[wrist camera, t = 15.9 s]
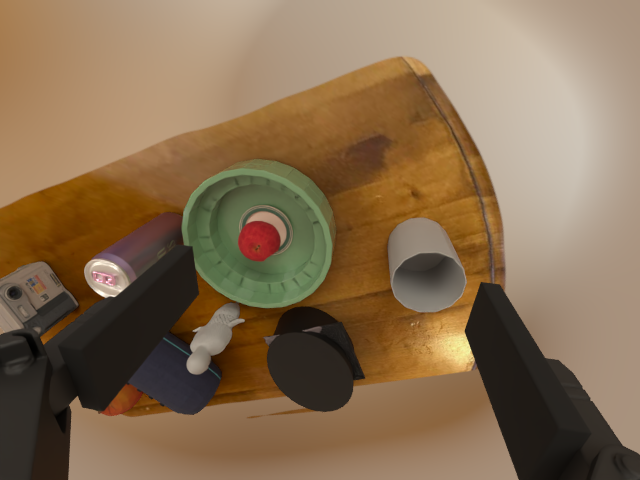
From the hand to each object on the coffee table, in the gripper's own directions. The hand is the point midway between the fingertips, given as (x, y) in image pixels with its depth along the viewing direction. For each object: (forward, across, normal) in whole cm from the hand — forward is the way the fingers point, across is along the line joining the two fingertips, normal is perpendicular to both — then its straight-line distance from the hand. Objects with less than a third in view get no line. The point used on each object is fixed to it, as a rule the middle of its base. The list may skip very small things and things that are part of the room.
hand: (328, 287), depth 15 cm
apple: (+30, -12, -12) cm, 35 cm away
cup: (+31, +10, -12) cm, 35 cm away
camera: (+31, -53, -29) cm, 68 cm away
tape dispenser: (+31, -3, -34) cm, 46 cm away
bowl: (+31, -12, -12) cm, 35 cm away
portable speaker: (+31, -32, -38) cm, 59 cm away
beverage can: (+31, -27, -14) cm, 43 cm away
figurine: (+31, -18, -27) cm, 45 cm away
